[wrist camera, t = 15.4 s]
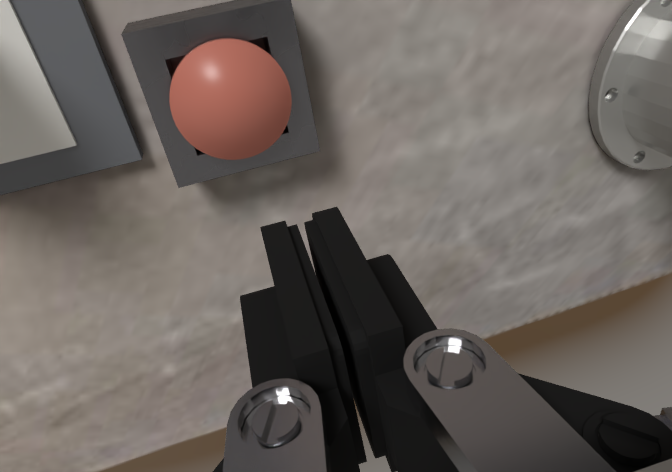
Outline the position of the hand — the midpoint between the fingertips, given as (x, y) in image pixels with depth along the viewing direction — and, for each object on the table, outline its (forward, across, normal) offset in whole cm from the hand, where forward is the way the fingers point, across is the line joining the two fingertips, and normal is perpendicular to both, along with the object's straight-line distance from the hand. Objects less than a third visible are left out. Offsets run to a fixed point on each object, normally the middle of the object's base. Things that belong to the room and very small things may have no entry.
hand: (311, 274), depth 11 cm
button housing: (+17, +1, 0) cm, 17 cm away
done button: (+16, +1, 0) cm, 16 cm away
